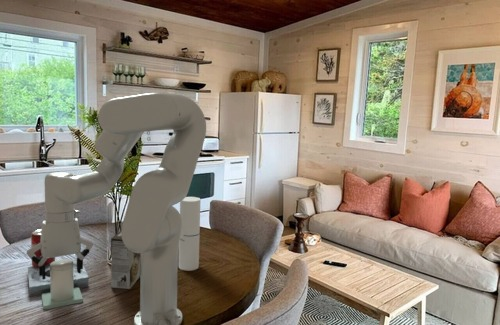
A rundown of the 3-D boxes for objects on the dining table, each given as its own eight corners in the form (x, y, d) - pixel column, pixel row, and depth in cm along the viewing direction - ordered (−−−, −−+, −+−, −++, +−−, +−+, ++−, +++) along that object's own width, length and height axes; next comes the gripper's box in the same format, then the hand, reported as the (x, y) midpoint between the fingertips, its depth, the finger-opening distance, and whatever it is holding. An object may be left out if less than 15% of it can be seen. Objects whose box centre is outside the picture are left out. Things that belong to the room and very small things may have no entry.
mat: (82, 301, 111) (82, 298, 111) (43, 309, 106) (43, 306, 106) (78, 290, 118) (78, 287, 117) (41, 297, 112) (41, 293, 112)
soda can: (29, 269, 130) (28, 235, 129) (34, 261, 137) (33, 229, 136) (52, 268, 132) (51, 234, 131) (57, 260, 139) (56, 228, 138)
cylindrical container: (194, 271, 135) (196, 202, 132) (175, 269, 136) (176, 200, 133) (201, 264, 142) (203, 197, 139) (183, 261, 143) (184, 196, 140)
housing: (88, 286, 120) (88, 277, 120) (29, 297, 112) (29, 287, 112) (80, 267, 134) (80, 259, 134) (28, 276, 126) (27, 267, 125)
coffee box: (121, 275, 129) (121, 229, 127) (140, 276, 129) (140, 230, 127) (110, 287, 120) (110, 238, 118) (130, 289, 120) (130, 239, 118)
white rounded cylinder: (75, 298, 111) (74, 265, 109) (51, 303, 107) (50, 269, 106) (72, 289, 116) (71, 258, 114) (49, 293, 112) (49, 261, 111)
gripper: (91, 210, 116) (91, 264, 118) (24, 216, 107) (26, 275, 109) (95, 216, 110) (96, 274, 112) (25, 223, 101) (27, 285, 103)
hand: (61, 274), depth 111 cm, fingers open, 8 cm apart
